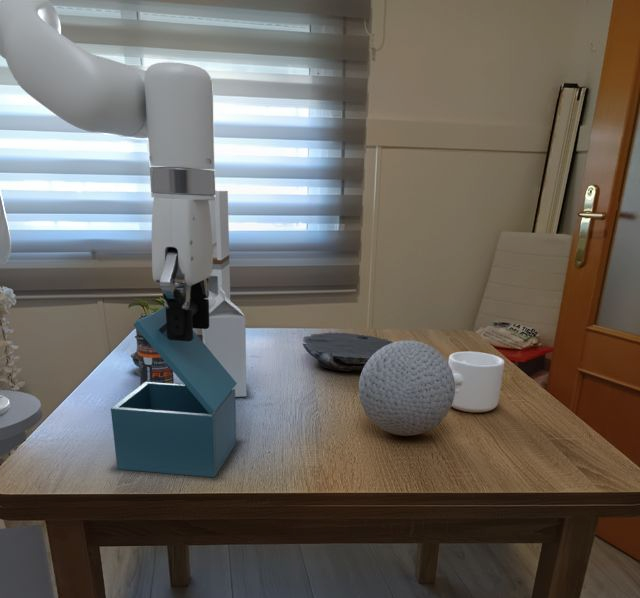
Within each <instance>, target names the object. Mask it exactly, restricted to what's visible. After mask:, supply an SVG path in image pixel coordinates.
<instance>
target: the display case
mask: <svg viewBox="0 0 640 598" xmlns="http://www.w3.org/2000/svg"><path fill="white" fill-rule="evenodd" d="M228 192H229V191H228V190H217V189H215V200H209V205H210V215H211V228H212V245H213V269H212V274H211V275H210V276H209V277H208V279H209V281H208V282H209V283H208V290H209V297H211V296H212V297H213V298H215V297H216V296H217V295H218V294H219V293H220V287H221V288H222V290H223V291H224V293H225V297H226V298H227V299H229V300H230V301H231V272H230V270H231V269H230V268H231V267H230V266H231V265H230V230H229V229H230V228H229V225H230V224H229V193H228ZM182 281H183V280H182ZM182 283H185V282H184V281H183V282H182ZM209 297H208V298H209ZM193 331H194V332H195V333H196V335H197V336H198V337H199V338H200V339H201V341H202V342H203V334H202V329H197V328H193Z"/></svg>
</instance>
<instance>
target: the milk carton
mask: <svg viewBox="0 0 640 598" xmlns="http://www.w3.org/2000/svg"><path fill="white" fill-rule="evenodd" d="M208 299H209V328H208V329H202V334H203V343H204V344H205V345H206V347H207V348H208V349H209V350H210V351H211V353H212V354H213V355H214V356H215V358H216V359H217V360H218V361H219V362H220V364H221V365H222V366H223V367H224V368H225V370H226V371H227V372H228V373H229V374H230V376H231V377H232V378H233V379H234V381H235V382H236V383H237V384H236V385H235V387H234V388H235V398H240V397H241V398H242V397H243V398H244V397H247V345H246V341H247V340H246V339H247V338H246V316H245V314H244V313H243V312H242V310H241V309H240V308H239V306H237V305H236V304H235V303H233V302H232V301H231V299H230V300H229V299H227V298H226V297H225V293H224V291H223V290H222V288H221V287H220V293H219V294H218V295H217V296H216V297H215V298H213V297H212V296H211V297H209V298H208Z"/></svg>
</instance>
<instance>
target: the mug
mask: <svg viewBox="0 0 640 598" xmlns="http://www.w3.org/2000/svg"><path fill="white" fill-rule="evenodd" d="M447 362H448V364H449V366H450V368H451V370H452V373H453V376H454V381H455V395H454V400H453V403H452V406H451V408H453V409H455V410H458V411H462V412H465V413H466V412H467V413H475V414H476V413H487V412H490V411H492V410H494V409H495V408H497V406H498V404H499V399H500V393H501V387H502V382H503V376H504V371H505V370H504V369H505V362H506V361H505V360H504V359H503V358H502V357H500V356H498V355H495V354H492V353H486V352H480V351H456V352H453V353H451V354H450V355H449V356H448V361H447Z"/></svg>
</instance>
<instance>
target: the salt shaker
mask: <svg viewBox="0 0 640 598" xmlns="http://www.w3.org/2000/svg"><path fill="white" fill-rule="evenodd" d="M144 317H145V315H144V313H141V314H140V318H138V319H137V320H136V321H135V322H137V321H138V320H140V319H142V318H144ZM135 333H136V335H134V339H136V351H135V352H133V353H131V354H130V358H131V359H132V362H133V364H134V365H135V366H136V367H137V368H135V369H134V370H133V374H134V375H136V376H140V371H139V357H138V348H139V346H140V345H141V344H142V343H143V336H142V334H141V333H140V332H139V331H138V330H137V329H136V328H135Z"/></svg>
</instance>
